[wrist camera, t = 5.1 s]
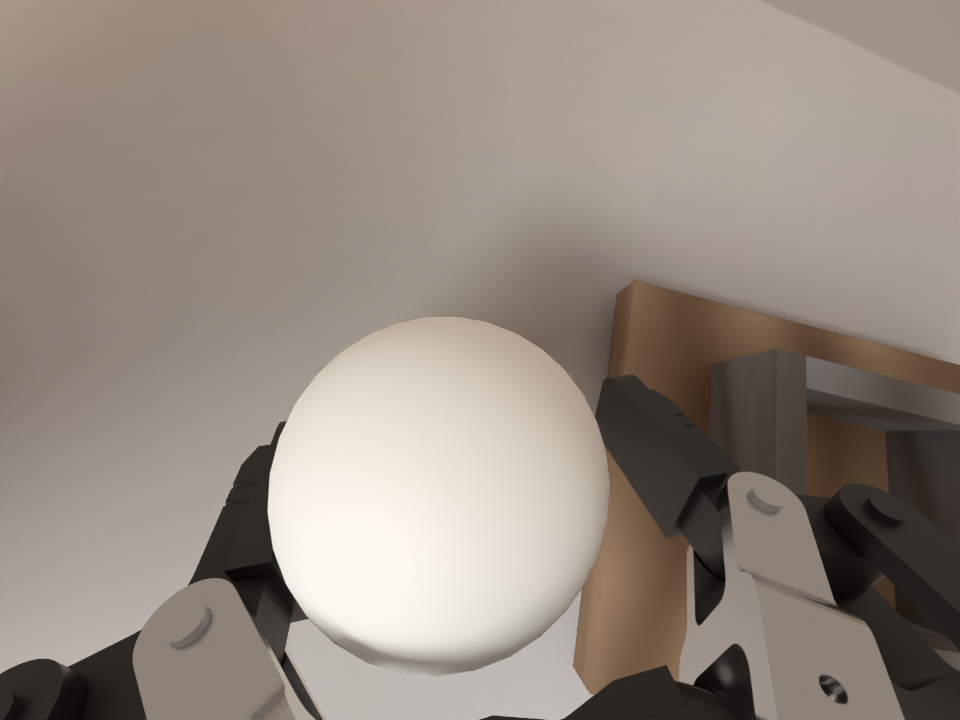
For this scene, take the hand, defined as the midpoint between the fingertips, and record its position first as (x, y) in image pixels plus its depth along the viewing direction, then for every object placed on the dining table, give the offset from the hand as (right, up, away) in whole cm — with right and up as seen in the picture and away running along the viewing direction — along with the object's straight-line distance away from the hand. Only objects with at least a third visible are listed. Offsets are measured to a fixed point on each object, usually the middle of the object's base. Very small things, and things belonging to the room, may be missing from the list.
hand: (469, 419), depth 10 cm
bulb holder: (+14, -5, +7) cm, 16 cm away
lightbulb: (-2, -2, +5) cm, 6 cm away
